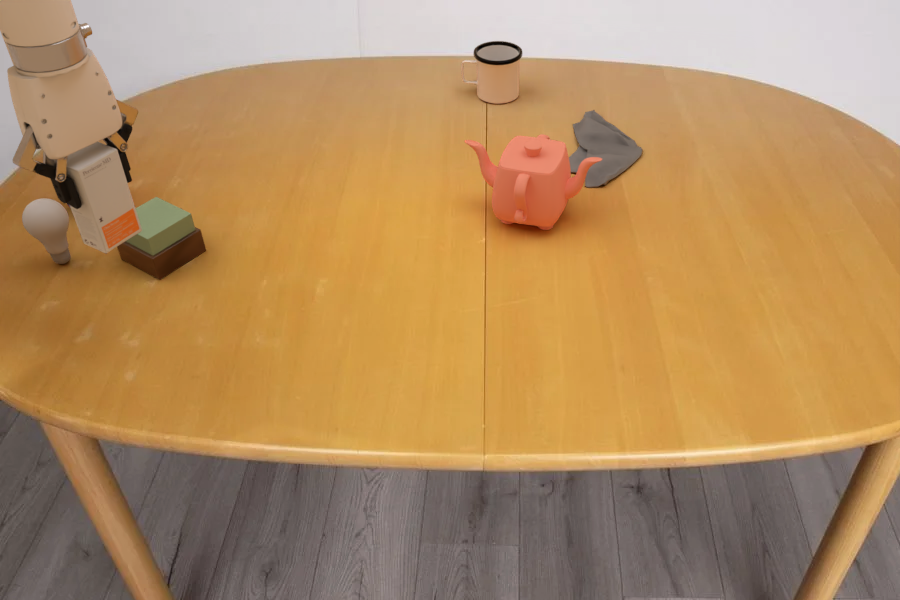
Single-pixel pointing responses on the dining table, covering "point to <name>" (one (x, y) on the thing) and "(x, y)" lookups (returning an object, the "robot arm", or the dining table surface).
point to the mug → (496, 71)
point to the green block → (161, 225)
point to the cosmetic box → (102, 197)
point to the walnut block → (164, 255)
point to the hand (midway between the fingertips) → (97, 190)
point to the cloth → (602, 149)
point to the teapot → (531, 180)
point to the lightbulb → (48, 227)
